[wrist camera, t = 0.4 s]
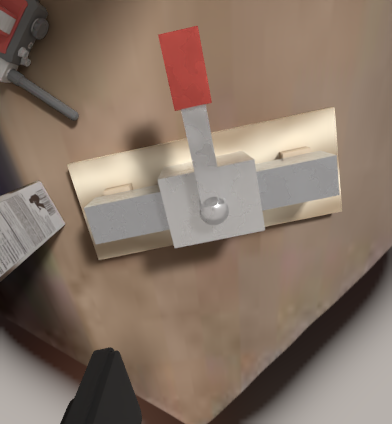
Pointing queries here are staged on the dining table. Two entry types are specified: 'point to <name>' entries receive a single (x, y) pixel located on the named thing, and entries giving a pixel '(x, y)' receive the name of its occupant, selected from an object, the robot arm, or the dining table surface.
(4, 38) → the walkie-talkie
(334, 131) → the valve board
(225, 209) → the lever
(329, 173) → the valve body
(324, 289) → the dining table surface
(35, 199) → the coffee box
